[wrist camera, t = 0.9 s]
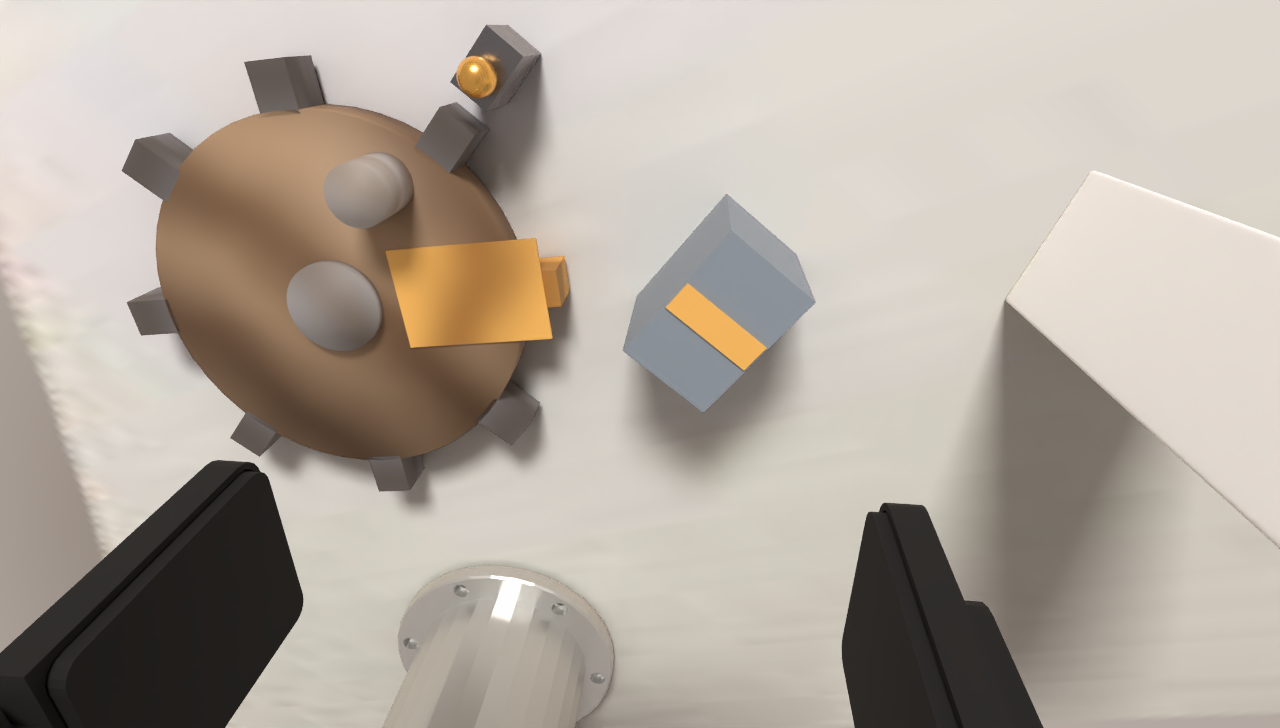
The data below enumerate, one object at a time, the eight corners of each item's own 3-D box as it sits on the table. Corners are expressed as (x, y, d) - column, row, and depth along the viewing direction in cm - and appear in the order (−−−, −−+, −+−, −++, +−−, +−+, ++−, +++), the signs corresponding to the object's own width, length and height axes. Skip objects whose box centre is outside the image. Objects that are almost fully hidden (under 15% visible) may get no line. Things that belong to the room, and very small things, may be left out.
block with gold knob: (507, 104, 28) (476, 115, 25) (474, 77, 28) (437, 84, 24) (541, 53, 28) (514, 57, 24) (508, 25, 27) (475, 24, 23)
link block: (703, 349, 32) (703, 414, 27) (636, 295, 32) (622, 351, 26) (796, 253, 30) (816, 303, 25) (726, 193, 29) (731, 231, 24)
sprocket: (428, 530, 38) (394, 590, 34) (88, 309, 34) (4, 347, 30) (658, 266, 31) (651, 302, 26) (258, -60, 26) (177, -76, 22)
